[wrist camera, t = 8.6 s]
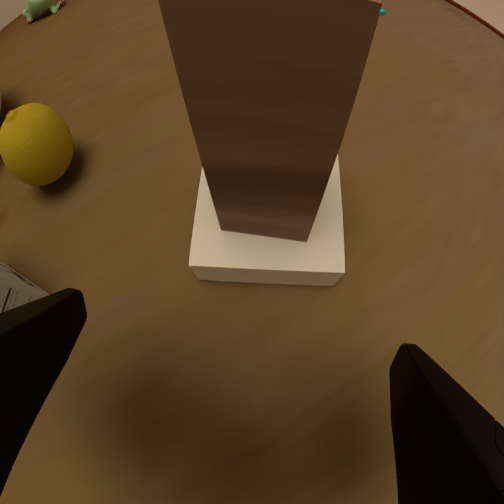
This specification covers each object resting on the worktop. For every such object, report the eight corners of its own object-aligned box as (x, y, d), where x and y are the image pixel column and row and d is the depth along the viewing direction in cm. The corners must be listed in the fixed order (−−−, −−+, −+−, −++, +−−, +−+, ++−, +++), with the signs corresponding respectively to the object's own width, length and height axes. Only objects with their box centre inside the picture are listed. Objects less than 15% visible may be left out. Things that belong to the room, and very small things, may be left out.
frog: (45, -16, 33) (15, 8, 33) (42, -33, 27) (7, -6, 26) (70, 10, 39) (39, 36, 38) (68, -5, 32) (33, 23, 32)
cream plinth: (332, 286, 19) (344, 272, 16) (199, 279, 19) (188, 265, 16) (328, 172, 21) (336, 146, 19) (213, 166, 22) (206, 140, 19)
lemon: (97, 144, 23) (55, 77, 15) (74, 204, 21) (15, 143, 14) (50, 147, 23) (5, 90, 16) (27, 201, 22) (-31, 151, 14)
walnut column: (306, 242, 17) (382, 3, 4) (221, 230, 17) (156, -11, 5) (313, 170, 18) (359, -49, 6) (236, 160, 18) (211, -60, 6)
